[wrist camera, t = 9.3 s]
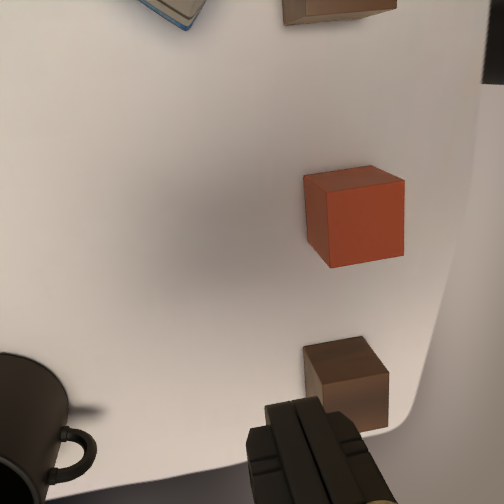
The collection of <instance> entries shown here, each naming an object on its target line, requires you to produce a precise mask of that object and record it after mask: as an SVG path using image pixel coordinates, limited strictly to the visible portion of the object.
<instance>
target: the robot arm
mask: <svg viewBox="0 0 504 504" xmlns="http://www.w3.org/2000/svg"><path fill="white" fill-rule="evenodd" d="M265 419H266V426H261V427H256V428H250V431H249V434H248V438H247V441H246V451H247V459H248V467H249V474H250V483H251V488H252V494H253V498H254V503H255V504H398V503H397V502H396V500H395V498H394V497H393V495H392V493H391V491H390V489H389V487H388V486H387V484H386V482H385V480H384V478H383V476H382V474H381V472H380V471H379V469H378V467H377V465H376V464H375V462H374V459H373V458H372V456H371V454H370V452H368V448H367V446H366V445H365V443H364V441H363V440H362V438H361V435H360V433H359V432H358V430H357V428H356V426H355V424H354V422H353V421H351V420H350V419H349V418H348V417H346V416H345V415H344V414H343V413H341V412H340V411H336V412H331V413H326V412H325V410H324V408H323V406H322V404H321V402H320V399H319V398H318V396H312V397H307V398H302V399H296V400H292V401H287V402H281V403H276V404H271V405H266V406H265Z"/></svg>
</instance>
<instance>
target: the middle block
mask: <svg viewBox="0 0 504 504" xmlns="http://www.w3.org/2000/svg"><path fill="white" fill-rule="evenodd" d="M304 189H305V203H306V217H307V231H308V242H309V244H310V245H311V246H312V247H313V248H314V250H315V251H316V252H317V253H318V254H319V256H320V257H321V258H322V259H323V260H324V262H325V263H326V264H327V265H328V266H329V268H336V267H341V266H347V265H353V264H358V263H364V262H370V261H375V260H381V259H387V258H392V257H398V256H403V255H404V196H405V181H404V180H403V179H400V178H398V177H396V176H394V175H392V174H389V173H387V172H385V171H383V170H381V169H378V168H376V167H374V166H372V165H371V166H364V167H358V168H351V169H344V170H338V171H331V172H325V173H318V174H311V175H305V176H304Z"/></svg>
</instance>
